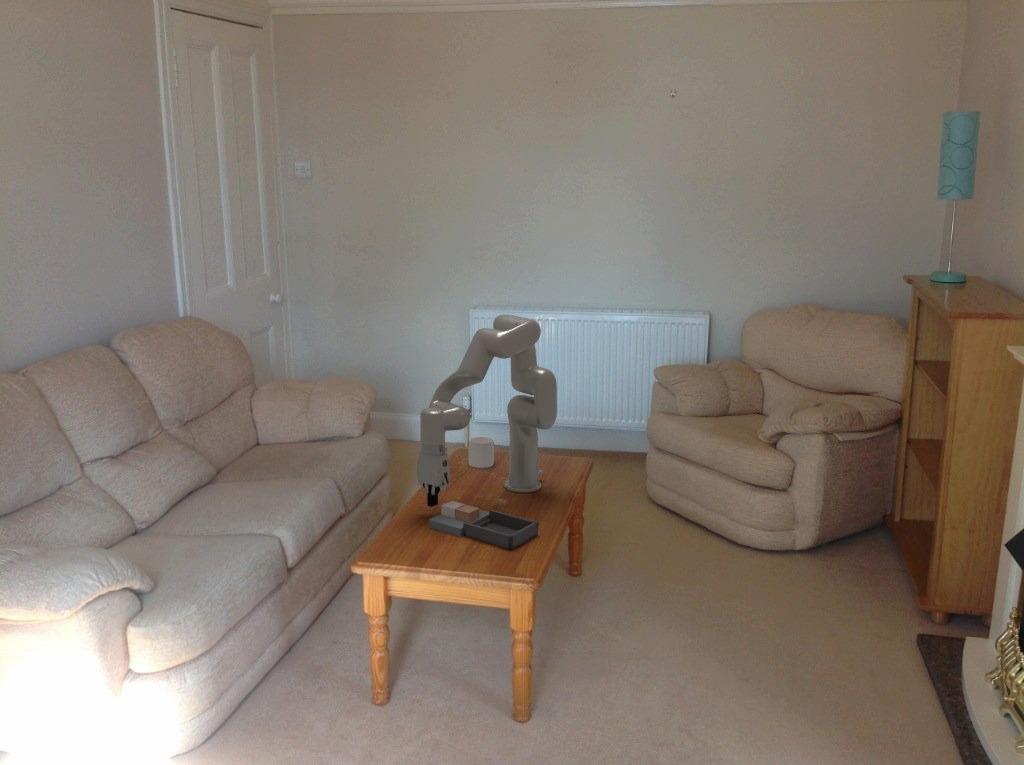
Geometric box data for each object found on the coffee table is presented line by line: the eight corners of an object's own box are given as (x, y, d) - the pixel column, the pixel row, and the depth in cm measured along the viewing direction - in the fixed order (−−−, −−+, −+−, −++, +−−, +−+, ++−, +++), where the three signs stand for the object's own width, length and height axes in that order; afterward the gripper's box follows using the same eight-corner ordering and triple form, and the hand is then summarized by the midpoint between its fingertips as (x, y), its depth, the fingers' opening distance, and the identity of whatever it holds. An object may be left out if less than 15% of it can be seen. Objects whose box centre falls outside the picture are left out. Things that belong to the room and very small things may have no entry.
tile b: (466, 513, 293) (466, 504, 293) (479, 517, 291) (479, 508, 290) (456, 518, 289) (456, 509, 289) (469, 522, 286) (469, 513, 286)
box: (491, 521, 294) (491, 509, 293) (537, 535, 285) (538, 522, 284) (463, 535, 283) (463, 523, 282) (510, 550, 273) (511, 536, 273)
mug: (492, 469, 344) (492, 444, 341) (466, 467, 344) (467, 442, 342) (495, 458, 355) (496, 434, 353) (471, 457, 356) (471, 433, 354)
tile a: (451, 509, 296) (451, 500, 296) (464, 513, 294) (464, 504, 293) (441, 514, 292) (441, 505, 292) (454, 518, 290) (454, 508, 289)
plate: (461, 512, 302) (461, 504, 301) (492, 520, 295) (492, 513, 294) (428, 527, 289) (428, 519, 288) (460, 536, 282) (460, 528, 282)
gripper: (459, 450, 292) (459, 507, 296) (421, 441, 300) (421, 496, 304) (444, 456, 286) (443, 514, 290) (405, 446, 294) (406, 503, 298)
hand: (432, 505), depth 297 cm, fingers closed
